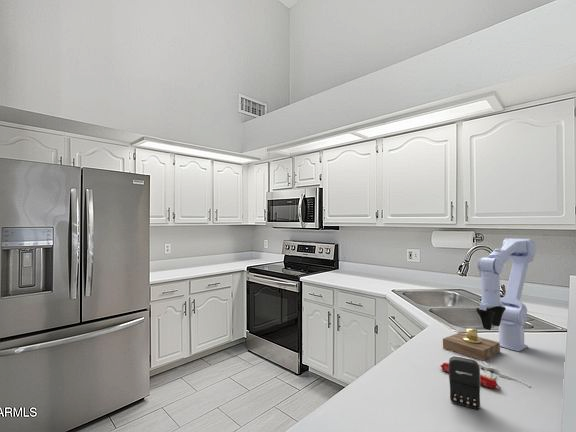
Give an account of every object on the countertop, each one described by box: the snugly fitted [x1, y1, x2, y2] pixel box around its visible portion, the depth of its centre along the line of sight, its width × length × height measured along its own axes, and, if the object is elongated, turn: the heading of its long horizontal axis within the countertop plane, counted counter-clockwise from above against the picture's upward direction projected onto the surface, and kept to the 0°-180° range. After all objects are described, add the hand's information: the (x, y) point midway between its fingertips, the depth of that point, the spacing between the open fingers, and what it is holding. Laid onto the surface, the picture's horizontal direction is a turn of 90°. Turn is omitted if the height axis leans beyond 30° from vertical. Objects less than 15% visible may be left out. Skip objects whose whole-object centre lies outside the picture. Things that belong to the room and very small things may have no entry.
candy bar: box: [439, 362, 500, 389], centre depth 90 cm, size 16×4×3 cm, turn 36°
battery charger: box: [448, 355, 481, 410], centre depth 76 cm, size 7×4×11 cm, turn 58°
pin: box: [463, 327, 481, 344], centre depth 113 cm, size 6×6×7 cm
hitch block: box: [442, 331, 501, 362], centre depth 113 cm, size 14×14×4 cm
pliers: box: [477, 360, 532, 389], centre depth 92 cm, size 10×2×15 cm
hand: (491, 327), depth 110 cm, fingers open, 7 cm apart
